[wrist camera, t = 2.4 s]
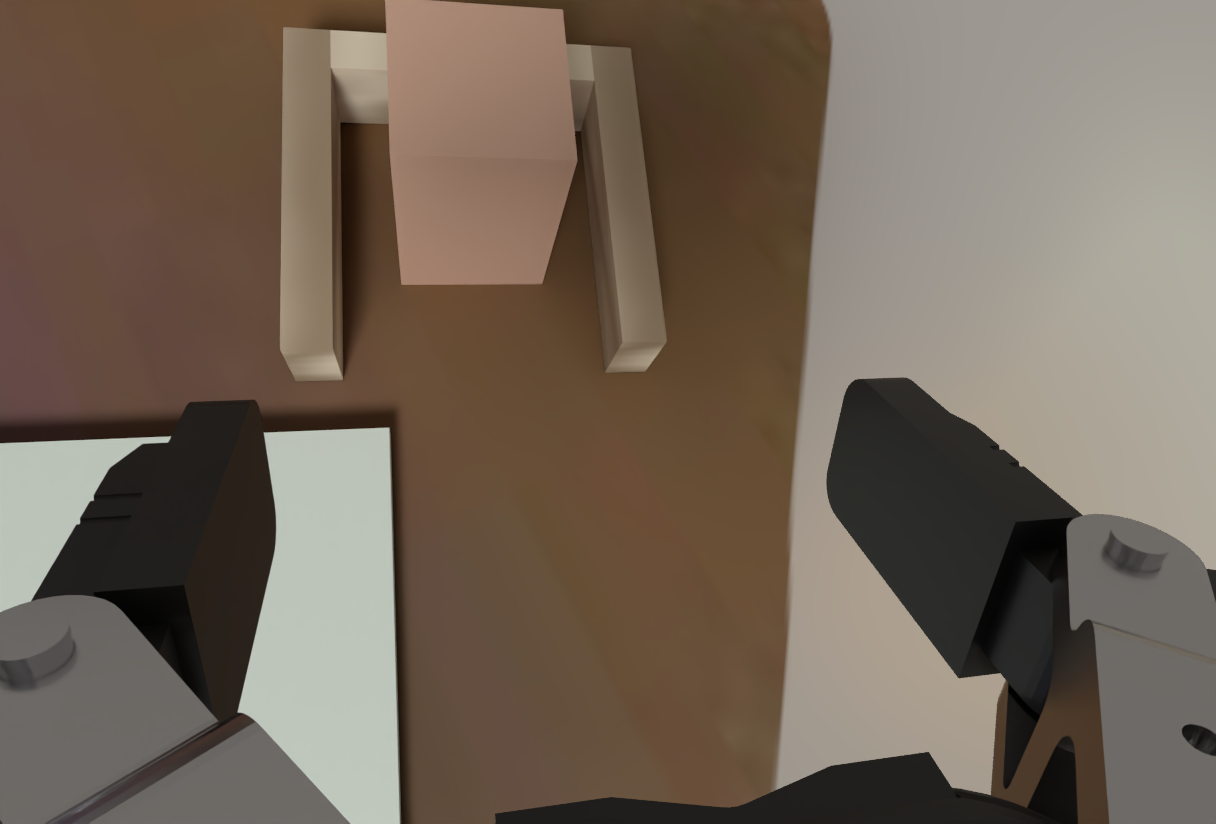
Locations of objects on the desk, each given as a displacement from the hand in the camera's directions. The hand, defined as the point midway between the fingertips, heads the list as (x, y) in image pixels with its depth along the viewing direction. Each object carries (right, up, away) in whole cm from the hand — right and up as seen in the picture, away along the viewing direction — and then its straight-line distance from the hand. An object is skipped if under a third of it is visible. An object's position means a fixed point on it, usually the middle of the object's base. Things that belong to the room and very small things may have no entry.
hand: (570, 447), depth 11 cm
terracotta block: (-5, +7, +19) cm, 21 cm away
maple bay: (-5, +7, +19) cm, 21 cm away
